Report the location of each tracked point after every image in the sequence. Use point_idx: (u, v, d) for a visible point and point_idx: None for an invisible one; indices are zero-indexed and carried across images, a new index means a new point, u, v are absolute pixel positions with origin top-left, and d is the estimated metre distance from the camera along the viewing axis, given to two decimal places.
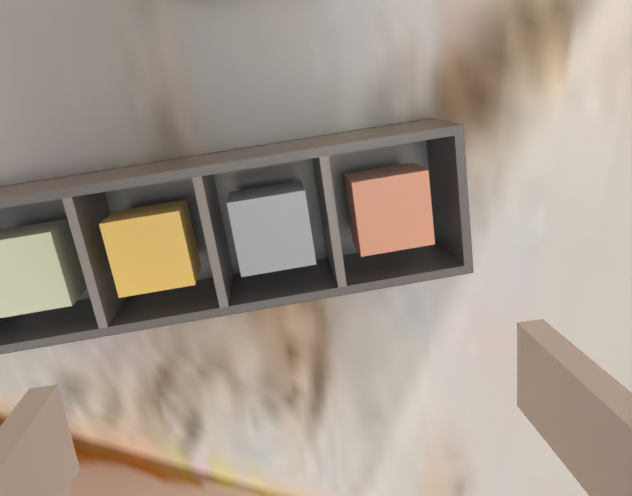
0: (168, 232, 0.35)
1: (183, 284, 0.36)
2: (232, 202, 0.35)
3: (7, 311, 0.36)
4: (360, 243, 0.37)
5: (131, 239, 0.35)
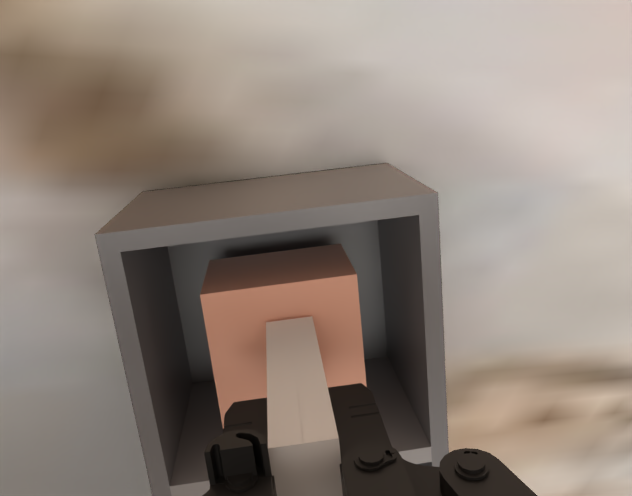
0: None
1: None
2: None
3: None
4: None
5: None
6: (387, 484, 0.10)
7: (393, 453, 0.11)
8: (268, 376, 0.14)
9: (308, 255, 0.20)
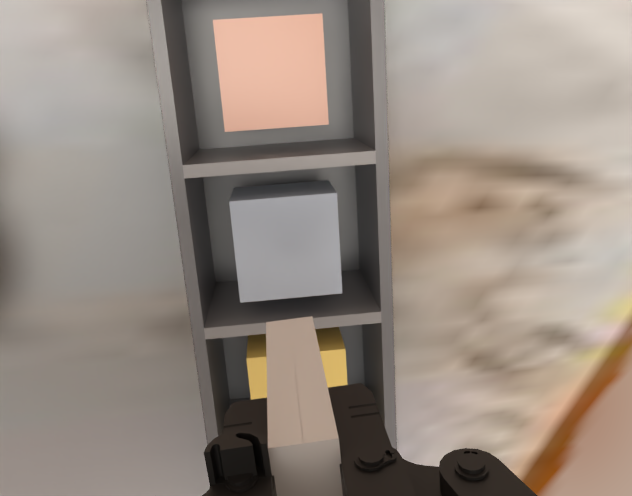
0: None
1: (342, 362, 0.29)
2: (240, 295, 0.27)
3: None
4: (309, 124, 0.27)
5: None
6: (387, 484, 0.10)
7: (393, 453, 0.11)
8: (268, 376, 0.14)
9: None
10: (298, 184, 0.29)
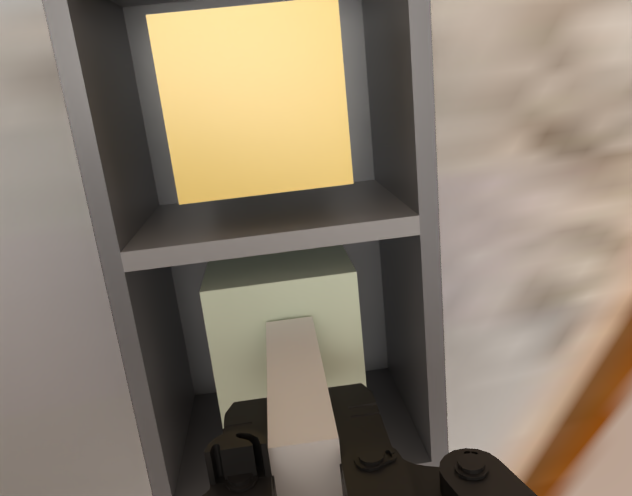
0: (200, 48, 0.15)
1: (334, 27, 0.15)
2: None
3: None
4: None
5: (215, 137, 0.15)
6: (387, 484, 0.10)
7: (393, 453, 0.11)
8: (268, 376, 0.14)
9: None
10: None
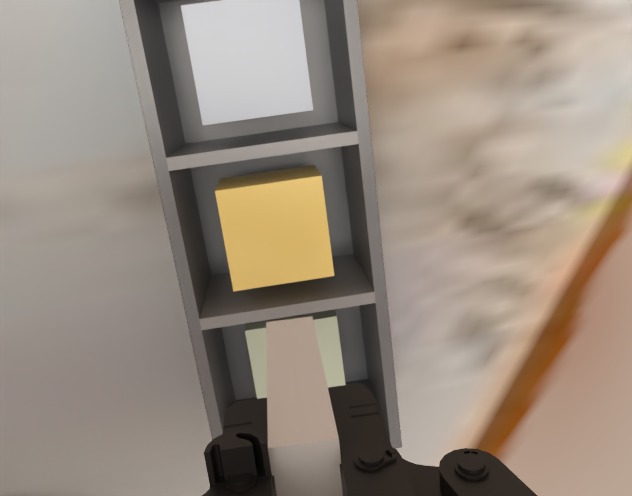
0: (245, 206, 0.26)
1: (320, 192, 0.26)
2: (202, 116, 0.25)
3: (338, 382, 0.31)
4: None
5: (254, 253, 0.27)
6: (387, 484, 0.10)
7: (393, 453, 0.11)
8: (268, 376, 0.14)
9: None
10: None
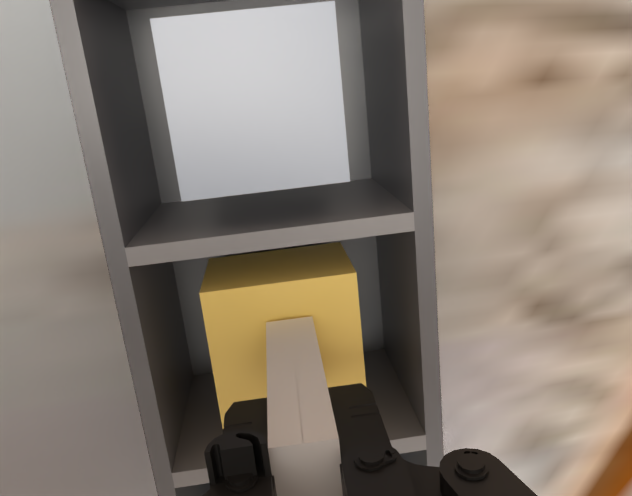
0: (243, 315, 0.18)
1: (353, 295, 0.18)
2: (181, 188, 0.16)
3: None
4: None
5: (254, 379, 0.19)
6: (387, 484, 0.10)
7: (393, 453, 0.11)
8: (268, 376, 0.14)
9: None
10: None
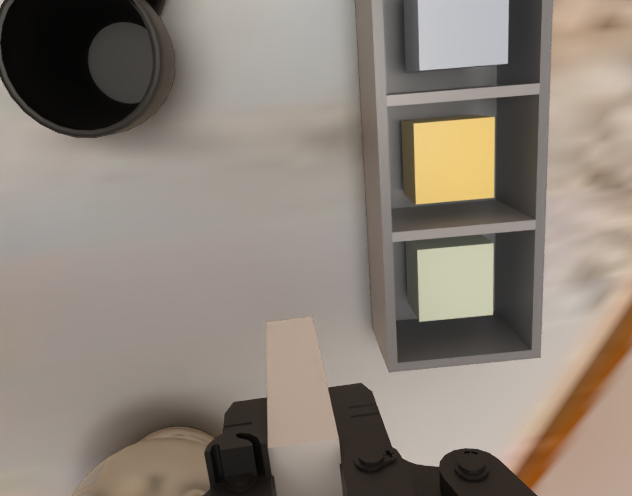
0: (434, 137, 0.34)
1: (491, 129, 0.34)
2: (419, 63, 0.31)
3: (487, 301, 0.37)
4: None
5: (435, 175, 0.35)
6: (387, 484, 0.10)
7: (393, 453, 0.11)
8: (268, 376, 0.14)
9: None
10: None
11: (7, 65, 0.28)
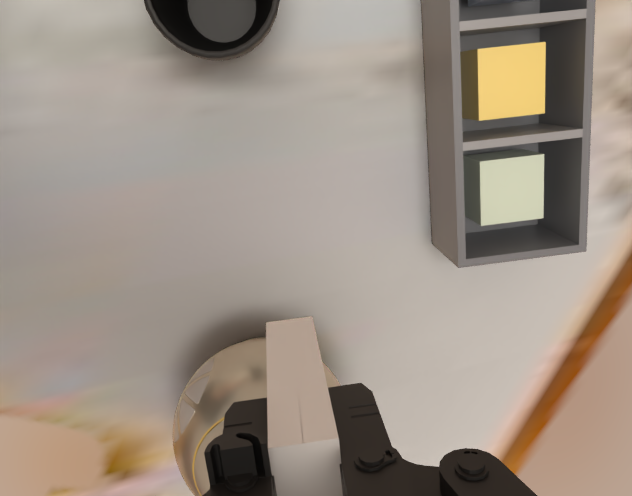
0: (494, 61, 0.40)
1: (543, 53, 0.40)
2: None
3: (539, 206, 0.43)
4: None
5: (495, 94, 0.41)
6: (387, 484, 0.10)
7: (393, 453, 0.11)
8: (268, 376, 0.14)
9: None
10: None
11: None
